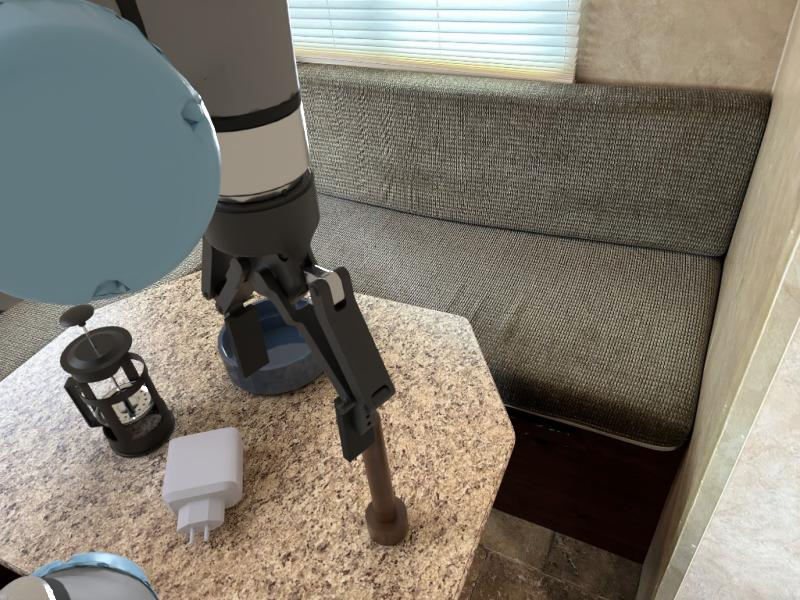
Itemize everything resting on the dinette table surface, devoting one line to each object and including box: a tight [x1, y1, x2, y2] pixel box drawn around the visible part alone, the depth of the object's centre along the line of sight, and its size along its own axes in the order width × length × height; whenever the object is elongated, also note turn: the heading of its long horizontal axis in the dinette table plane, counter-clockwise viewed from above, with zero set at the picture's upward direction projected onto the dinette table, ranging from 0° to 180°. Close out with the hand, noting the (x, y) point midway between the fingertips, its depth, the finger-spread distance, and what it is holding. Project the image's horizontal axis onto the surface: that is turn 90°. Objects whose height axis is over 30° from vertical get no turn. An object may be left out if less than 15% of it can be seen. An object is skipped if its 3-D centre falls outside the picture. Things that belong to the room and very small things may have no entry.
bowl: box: [216, 297, 324, 395], centre depth 97 cm, size 17×17×6 cm
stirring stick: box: [361, 409, 410, 547], centre depth 67 cm, size 5×5×21 cm
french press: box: [58, 303, 176, 459], centre depth 82 cm, size 12×9×23 cm
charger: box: [161, 426, 244, 546], centre depth 77 cm, size 5×9×15 cm
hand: (303, 406), depth 51 cm, fingers open, 13 cm apart
